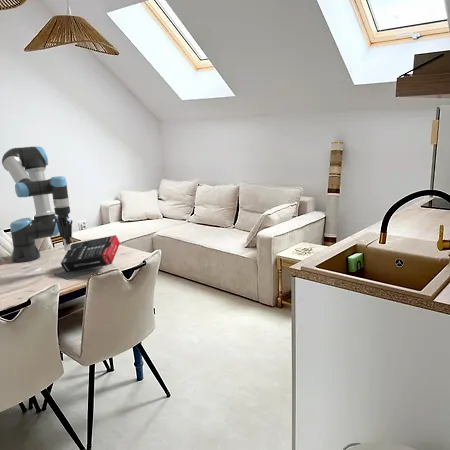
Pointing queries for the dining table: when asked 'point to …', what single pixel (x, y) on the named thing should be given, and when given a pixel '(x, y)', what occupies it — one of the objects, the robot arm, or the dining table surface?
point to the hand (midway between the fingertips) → (67, 250)
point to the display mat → (77, 272)
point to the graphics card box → (90, 253)
